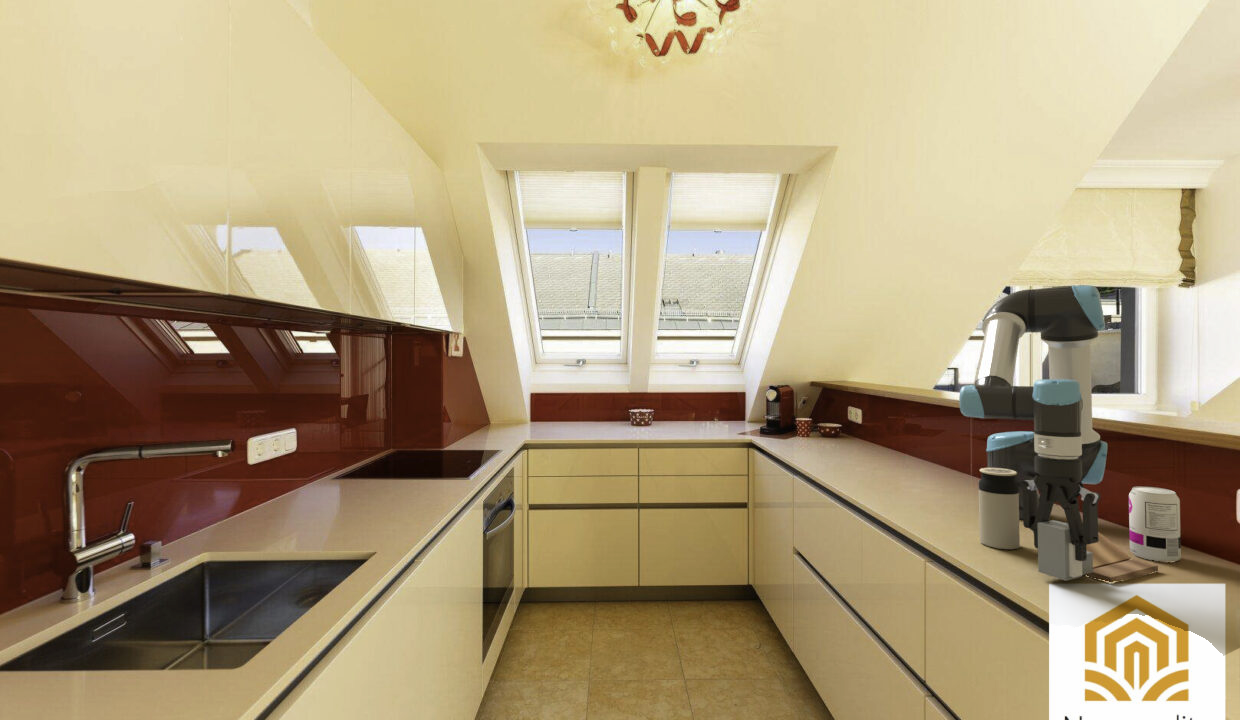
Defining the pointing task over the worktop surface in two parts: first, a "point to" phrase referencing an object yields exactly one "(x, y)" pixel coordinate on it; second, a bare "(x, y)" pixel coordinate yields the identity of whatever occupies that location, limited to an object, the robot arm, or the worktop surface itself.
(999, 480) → the travel mug
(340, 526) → the worktop surface
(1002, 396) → the robot arm
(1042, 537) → the block
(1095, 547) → the plank
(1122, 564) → the laid row
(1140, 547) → the supplement can
